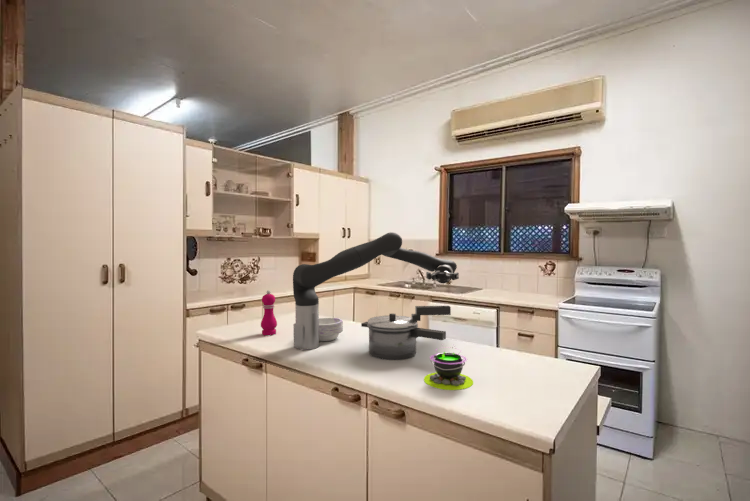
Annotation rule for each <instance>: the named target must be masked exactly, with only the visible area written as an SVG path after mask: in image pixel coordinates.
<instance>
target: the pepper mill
mask: <svg viewBox="0 0 750 501" xmlns="http://www.w3.org/2000/svg"><path fill="white" fill-rule="evenodd" d="M261 302H262V308H263V316H262V319H261V322H260V327H261V329H262V330H261V335H262V334H263V335H262V336H265V335H270V336H274V335H273V334H275V335H276V334H277V329H276V328H277V326H278V321H277V319H276V317H275V314H274V308H275V302H276V296H275V295H274V294H272V293H271V290H267V291H266V294H264V295H262V297H261Z"/></svg>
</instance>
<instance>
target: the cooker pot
mask: <svg viewBox="0 0 750 501" xmlns="http://www.w3.org/2000/svg"><path fill="white" fill-rule="evenodd" d="M360 327H362V328H368V350H369V351H368V353H369V355H370V356H371V357H373V358H375V359H380V360H388V361H399V360H400V361H401V360H408V359H411V358H413V357H415V356H416V355H417V338H424V339H425V338H426V339H432V340H437V341H444V340H446V338H447V332H446V330H439V329H438V330H437V329H430V328H422V327H419V324H418V323H417V325H416V326H414V327H410V328H404V329H383V328H376V327H372V326H370V325H368V321H365V322H361V326H360Z"/></svg>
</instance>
